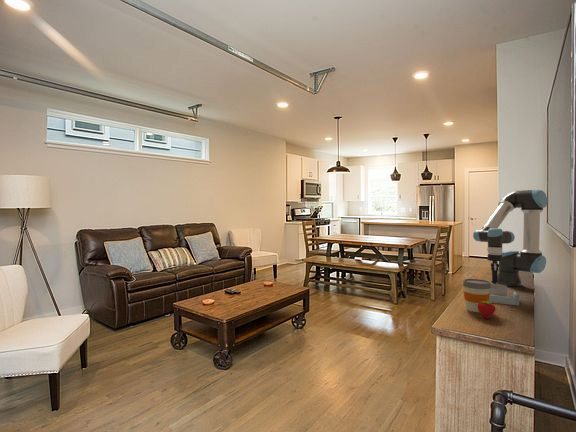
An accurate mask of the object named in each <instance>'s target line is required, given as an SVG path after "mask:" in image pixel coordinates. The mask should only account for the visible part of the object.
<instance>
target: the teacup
mask: <svg viewBox="0 0 576 432" xmlns="http://www.w3.org/2000/svg"><path fill="white" fill-rule="evenodd" d="M490 286H491V288H490V291H489V293H490V295H498V296H508V286H505V285H501V284H492V283H490Z"/></svg>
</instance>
